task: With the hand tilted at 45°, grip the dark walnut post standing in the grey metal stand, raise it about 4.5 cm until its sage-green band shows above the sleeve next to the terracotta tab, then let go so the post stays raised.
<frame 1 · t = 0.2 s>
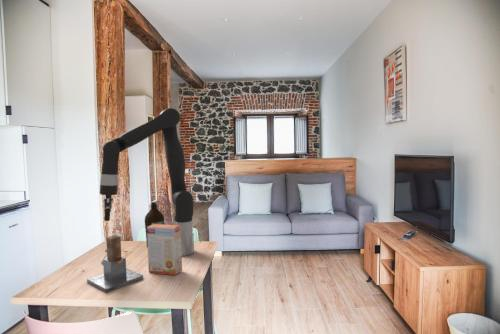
hand: (107, 219, 143), 23 cm above the table, tool pointing down, fingers open, 8 cm apart
olive oil: (155, 246, 175), on the table
stand: (115, 280, 130), on the table
post: (114, 256, 129), point 10 cm above the table, slide at 0.0 cm
adjustable wrench: (107, 256, 161), on the table
cracker box: (165, 272, 138), on the table
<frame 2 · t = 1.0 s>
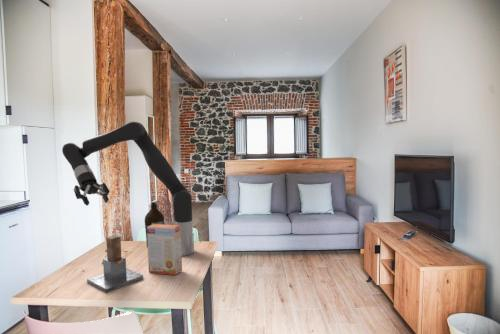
hand: (97, 202, 140), 31 cm above the table, tool tilted 45°, fingers open, 8 cm apart
nothing on the table moved.
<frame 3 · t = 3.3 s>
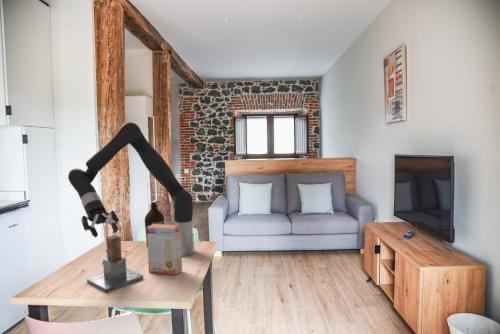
hand: (106, 233, 132), 19 cm above the table, tool tilted 45°, fingers open, 8 cm apart
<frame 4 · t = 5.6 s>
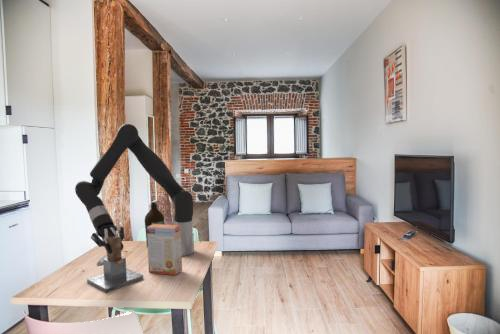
hand: (116, 250, 128), 13 cm above the table, tool tilted 45°, fingers closed on post, 4 cm apart
post: (114, 257, 129), point 10 cm above the table, slide at 0.0 cm, touching gripper
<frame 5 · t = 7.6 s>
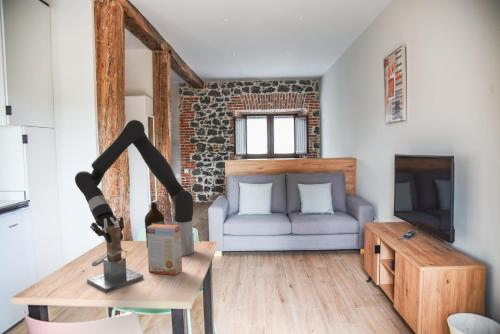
hand: (115, 240, 128), 17 cm above the table, tool tilted 45°, fingers closed on post, 4 cm apart
post: (113, 246, 129), point 14 cm above the table, slide at 4.3 cm, touching gripper
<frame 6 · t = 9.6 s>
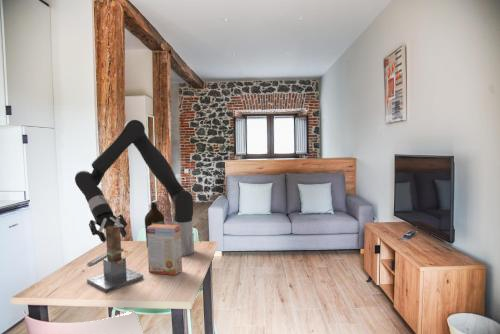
hand: (115, 238, 128), 18 cm above the table, tool tilted 45°, fingers open, 8 cm apart
post: (113, 246, 129), point 15 cm above the table, slide at 4.4 cm
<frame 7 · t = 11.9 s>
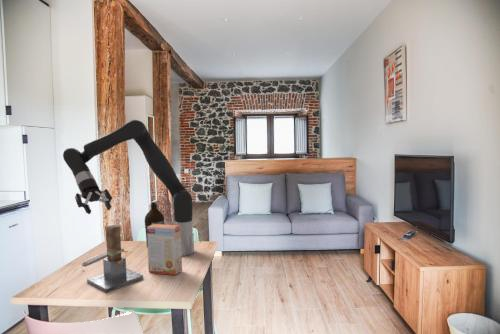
hand: (99, 210, 136), 28 cm above the table, tool tilted 45°, fingers open, 8 cm apart
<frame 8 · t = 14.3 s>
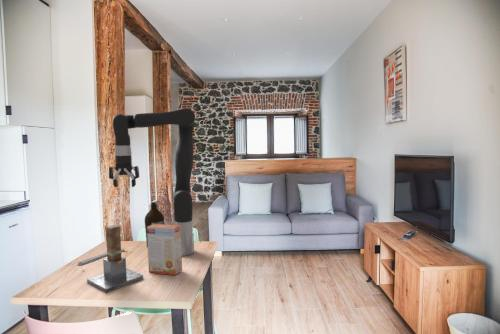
hand: (124, 187, 155), 36 cm above the table, tool pointing down, fingers open, 8 cm apart
at the end: post slide at 4.4 cm; the gripper is holding nothing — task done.
